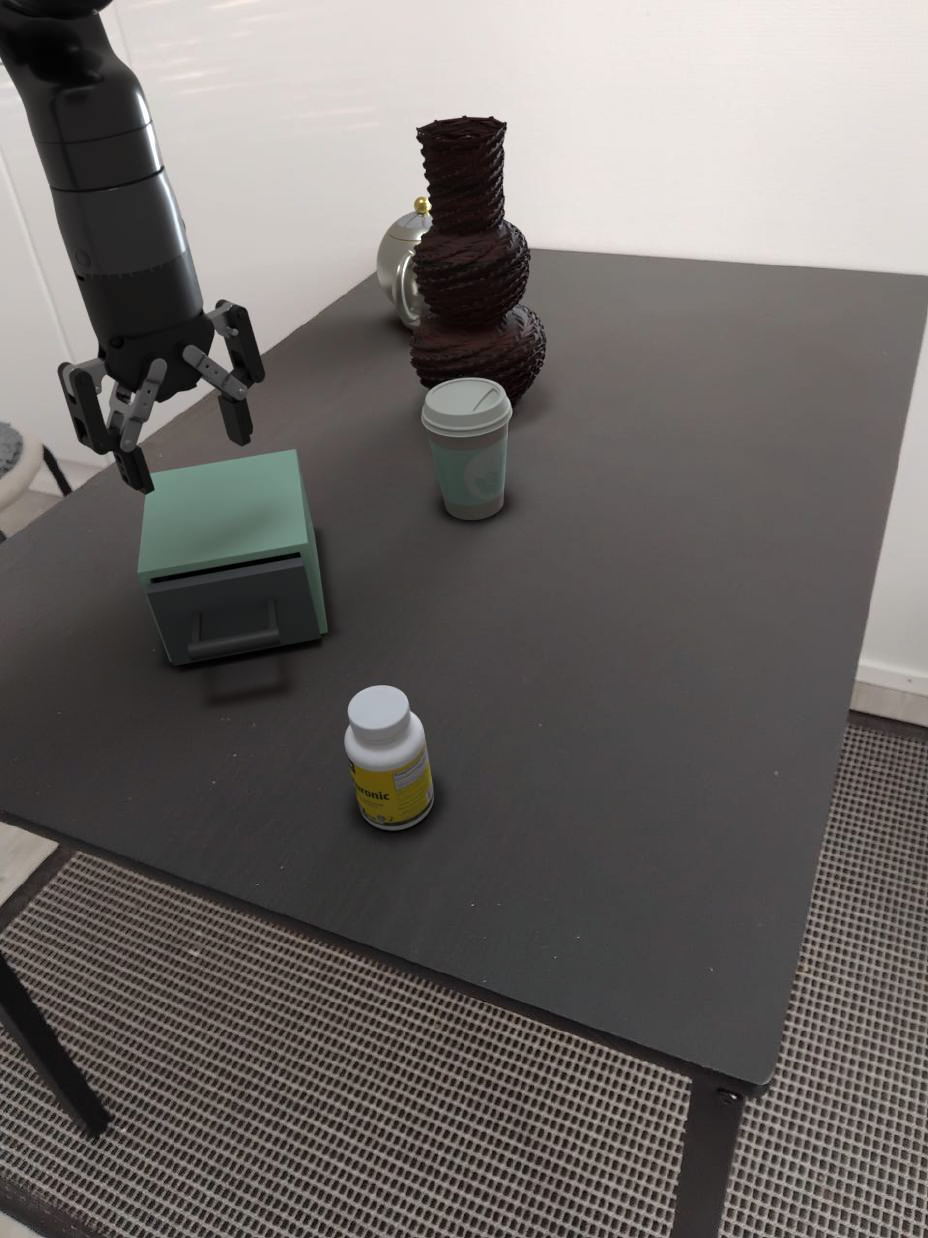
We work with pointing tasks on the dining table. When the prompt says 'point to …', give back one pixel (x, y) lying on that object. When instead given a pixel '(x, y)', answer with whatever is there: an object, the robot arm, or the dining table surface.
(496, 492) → the coffee cup
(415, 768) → the supplement bottle
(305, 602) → the grey pull-out drawer
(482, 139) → the vase
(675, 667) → the dining table surface
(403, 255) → the teapot
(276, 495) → the green drawer cabinet
